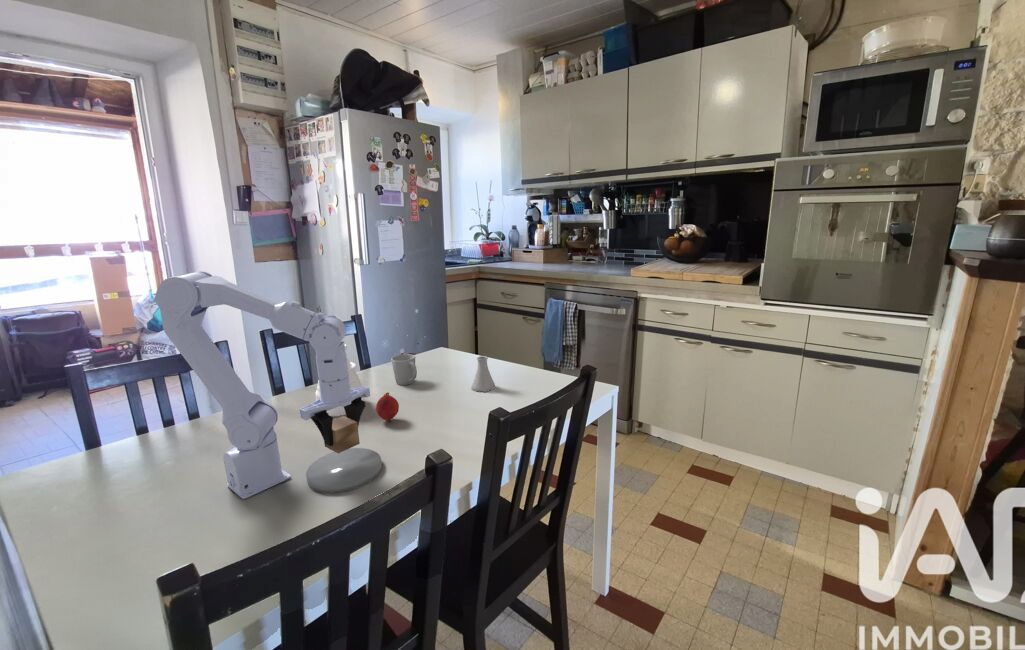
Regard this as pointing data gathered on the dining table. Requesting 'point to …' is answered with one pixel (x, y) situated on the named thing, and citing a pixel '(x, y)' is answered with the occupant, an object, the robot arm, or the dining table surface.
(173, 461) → the dining table surface
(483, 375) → the flask
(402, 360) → the cup
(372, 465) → the plate
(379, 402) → the onion
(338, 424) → the cube
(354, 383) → the honey pot
